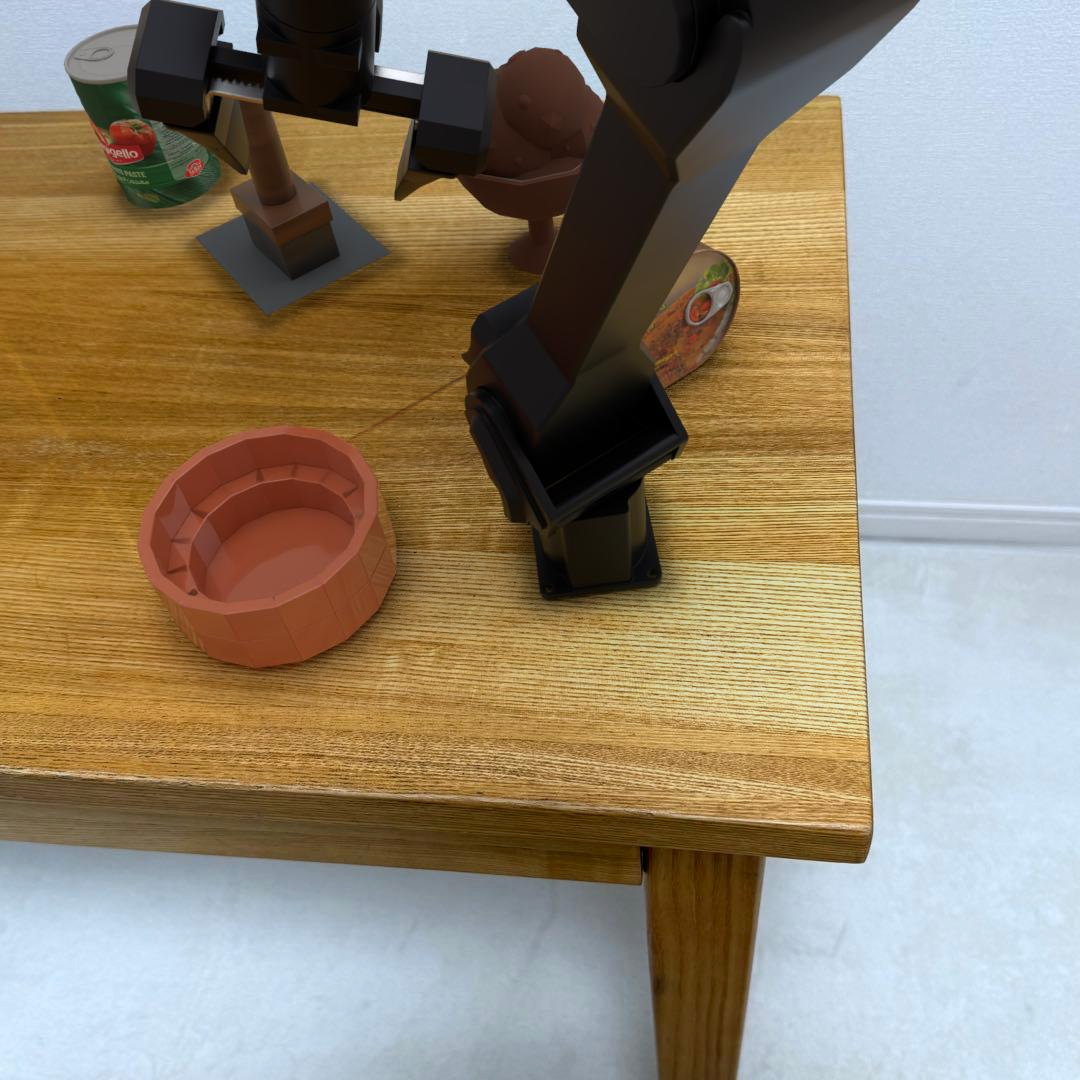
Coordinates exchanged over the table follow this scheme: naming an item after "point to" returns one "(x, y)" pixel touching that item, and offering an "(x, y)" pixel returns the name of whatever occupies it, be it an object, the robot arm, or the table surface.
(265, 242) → the brush
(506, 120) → the ice cream bowl
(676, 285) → the tin
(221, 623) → the bowl
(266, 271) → the mat
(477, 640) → the table surface
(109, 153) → the canned tomato
